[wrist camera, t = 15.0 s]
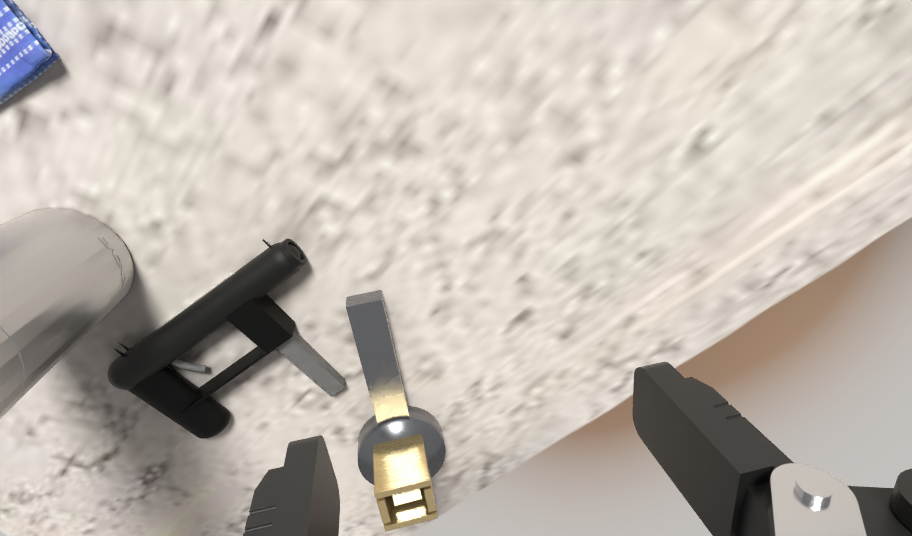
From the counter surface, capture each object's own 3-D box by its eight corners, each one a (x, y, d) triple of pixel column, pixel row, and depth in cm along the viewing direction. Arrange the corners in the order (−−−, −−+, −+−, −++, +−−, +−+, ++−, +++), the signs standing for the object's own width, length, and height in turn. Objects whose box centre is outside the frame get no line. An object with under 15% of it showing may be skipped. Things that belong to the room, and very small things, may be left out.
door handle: (394, 358, 45) (272, 234, 37) (230, 471, 47) (80, 374, 39) (391, 339, 48) (277, 219, 40) (236, 446, 50) (99, 350, 42)
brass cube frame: (382, 480, 50) (385, 531, 44) (372, 445, 48) (374, 493, 42) (429, 469, 50) (437, 517, 45) (421, 433, 48) (429, 480, 43)
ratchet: (368, 480, 53) (369, 536, 46) (315, 303, 43) (307, 344, 37) (447, 460, 54) (458, 513, 47) (411, 283, 44) (420, 320, 38)
